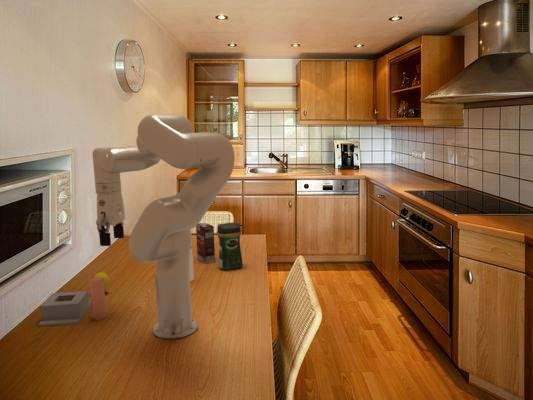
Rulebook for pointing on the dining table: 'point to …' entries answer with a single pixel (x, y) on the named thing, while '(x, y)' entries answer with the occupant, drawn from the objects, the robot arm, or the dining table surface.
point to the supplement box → (205, 242)
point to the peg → (98, 298)
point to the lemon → (106, 279)
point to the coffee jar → (229, 246)
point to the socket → (64, 308)
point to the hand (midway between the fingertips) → (112, 241)
